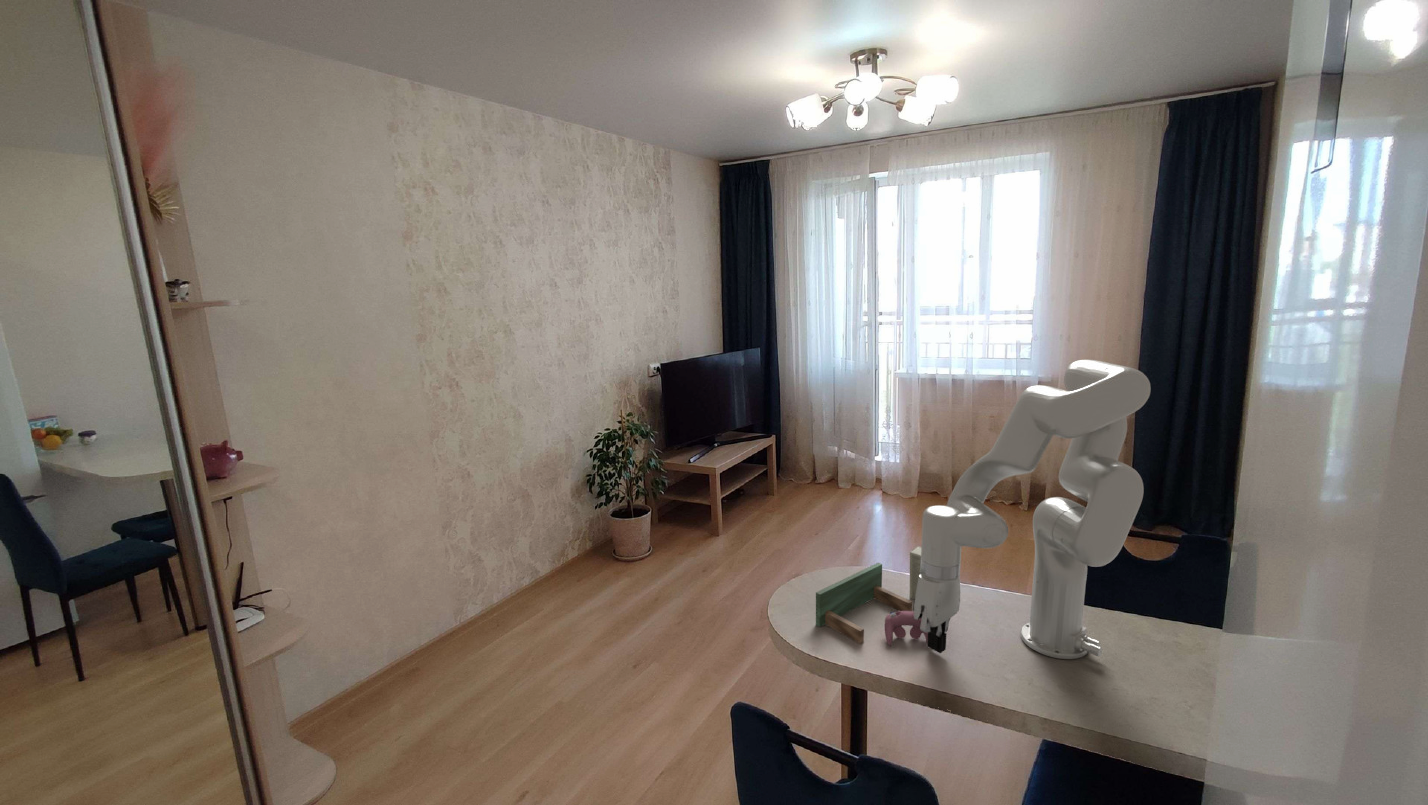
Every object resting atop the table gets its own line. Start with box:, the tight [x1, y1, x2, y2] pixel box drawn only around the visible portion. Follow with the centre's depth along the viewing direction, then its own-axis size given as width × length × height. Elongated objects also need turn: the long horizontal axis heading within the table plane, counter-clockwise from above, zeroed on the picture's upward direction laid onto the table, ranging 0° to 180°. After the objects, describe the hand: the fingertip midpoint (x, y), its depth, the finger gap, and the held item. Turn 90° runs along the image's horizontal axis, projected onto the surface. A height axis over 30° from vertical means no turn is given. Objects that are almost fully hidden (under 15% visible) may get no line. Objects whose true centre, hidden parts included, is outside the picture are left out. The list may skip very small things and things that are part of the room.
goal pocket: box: [815, 562, 913, 644], centre depth 143 cm, size 11×22×8 cm, turn 128°
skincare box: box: [909, 546, 921, 600], centre depth 150 cm, size 6×4×12 cm
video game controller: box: [884, 610, 928, 646], centre depth 135 cm, size 10×5×7 cm, turn 82°
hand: (936, 648), depth 130 cm, fingers closed
